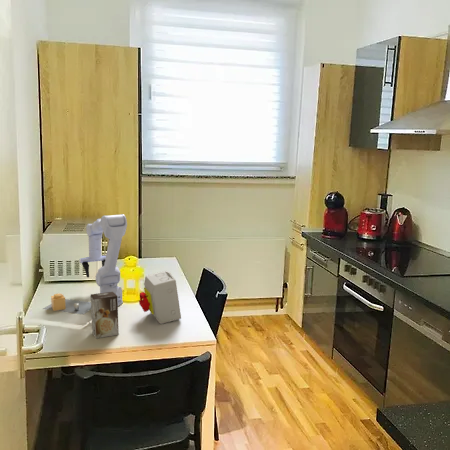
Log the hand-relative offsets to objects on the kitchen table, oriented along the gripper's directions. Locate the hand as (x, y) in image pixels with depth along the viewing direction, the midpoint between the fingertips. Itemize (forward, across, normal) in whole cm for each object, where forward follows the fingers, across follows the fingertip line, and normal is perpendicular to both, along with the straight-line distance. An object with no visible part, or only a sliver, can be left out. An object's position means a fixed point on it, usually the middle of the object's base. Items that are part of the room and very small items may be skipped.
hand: (95, 275), depth 237 cm
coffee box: (+10, +9, +47) cm, 49 cm away
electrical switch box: (+10, -16, +41) cm, 45 cm away
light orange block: (+8, +20, +15) cm, 26 cm away
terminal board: (+9, +15, +15) cm, 23 cm away
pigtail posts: (+8, +17, +18) cm, 26 cm away
